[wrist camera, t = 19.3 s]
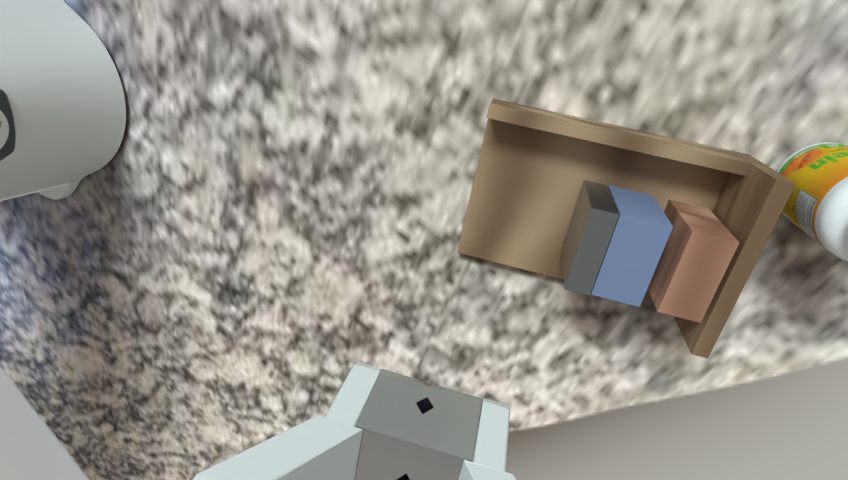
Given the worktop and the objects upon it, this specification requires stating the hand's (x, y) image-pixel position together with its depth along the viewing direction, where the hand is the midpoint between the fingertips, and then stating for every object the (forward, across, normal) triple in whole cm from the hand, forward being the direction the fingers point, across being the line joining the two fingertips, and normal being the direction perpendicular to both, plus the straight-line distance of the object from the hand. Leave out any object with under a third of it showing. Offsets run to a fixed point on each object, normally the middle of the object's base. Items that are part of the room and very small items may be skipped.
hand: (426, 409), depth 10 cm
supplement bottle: (+29, -20, -1) cm, 35 cm away
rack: (+29, -7, +4) cm, 30 cm away
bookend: (+28, -7, +5) cm, 29 cm away
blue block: (+28, -9, +5) cm, 30 cm away
